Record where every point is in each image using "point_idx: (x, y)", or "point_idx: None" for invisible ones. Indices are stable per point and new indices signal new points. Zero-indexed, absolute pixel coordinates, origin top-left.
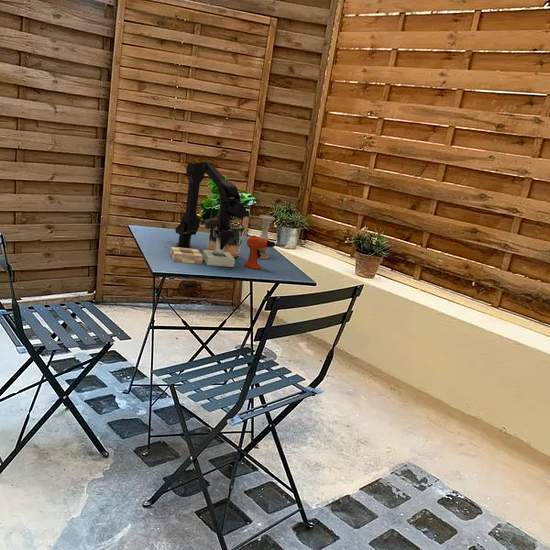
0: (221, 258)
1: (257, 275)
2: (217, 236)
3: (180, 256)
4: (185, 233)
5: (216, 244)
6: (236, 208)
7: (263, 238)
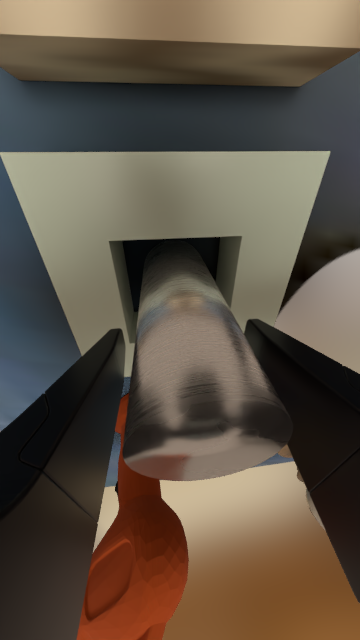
0: (60, 299)
1: (17, 411)
2: (344, 410)
3: None
4: None
5: (173, 316)
6: None
7: None
